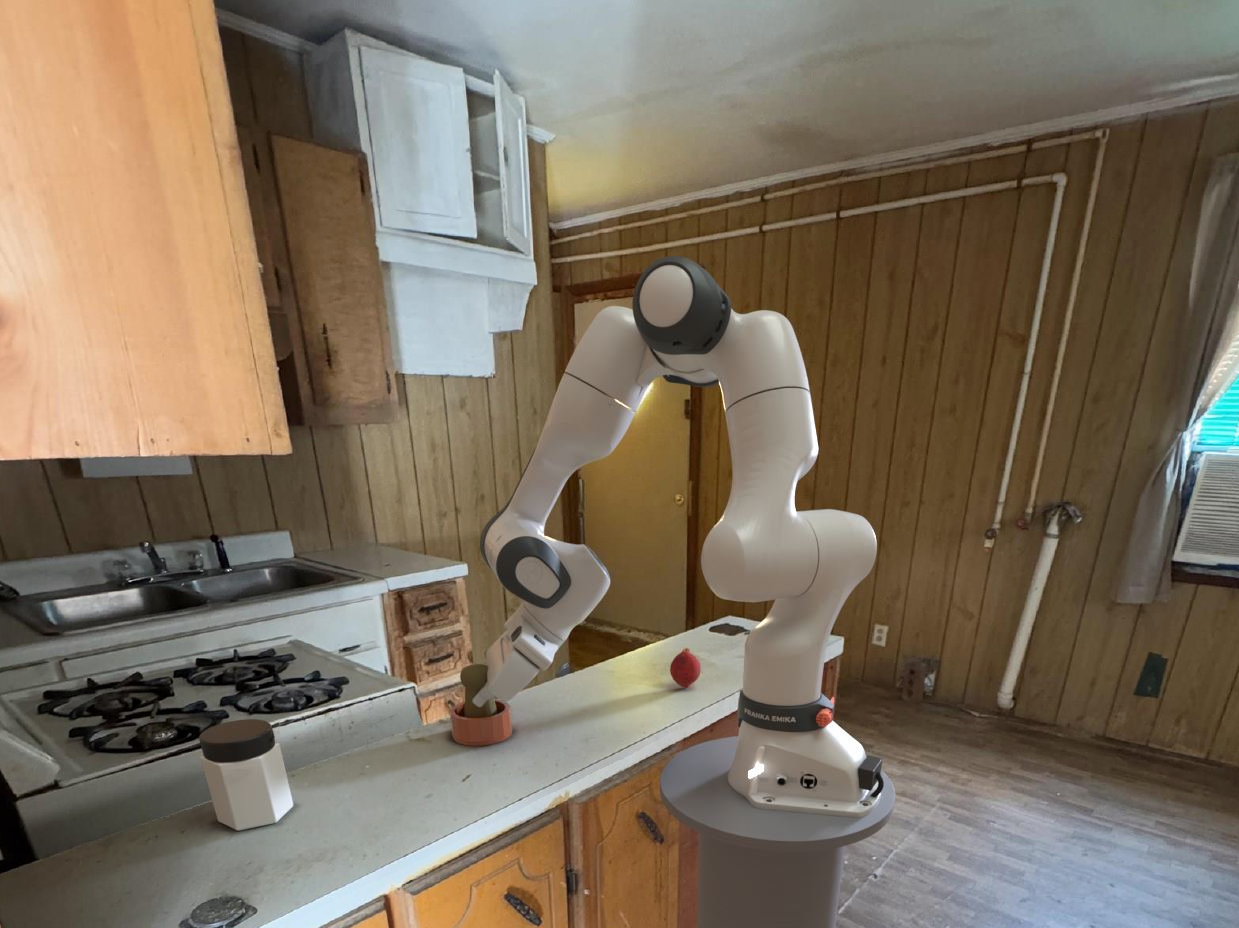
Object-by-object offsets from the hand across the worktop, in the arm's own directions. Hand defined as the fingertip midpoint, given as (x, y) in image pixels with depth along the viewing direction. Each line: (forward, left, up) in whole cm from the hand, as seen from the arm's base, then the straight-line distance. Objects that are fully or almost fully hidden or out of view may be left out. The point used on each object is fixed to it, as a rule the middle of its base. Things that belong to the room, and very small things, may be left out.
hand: (475, 697), depth 119 cm
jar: (+11, +34, -7) cm, 36 cm away
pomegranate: (-24, -34, -7) cm, 42 cm away
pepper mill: (0, 0, -6) cm, 6 cm away
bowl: (-1, 0, -6) cm, 6 cm away
